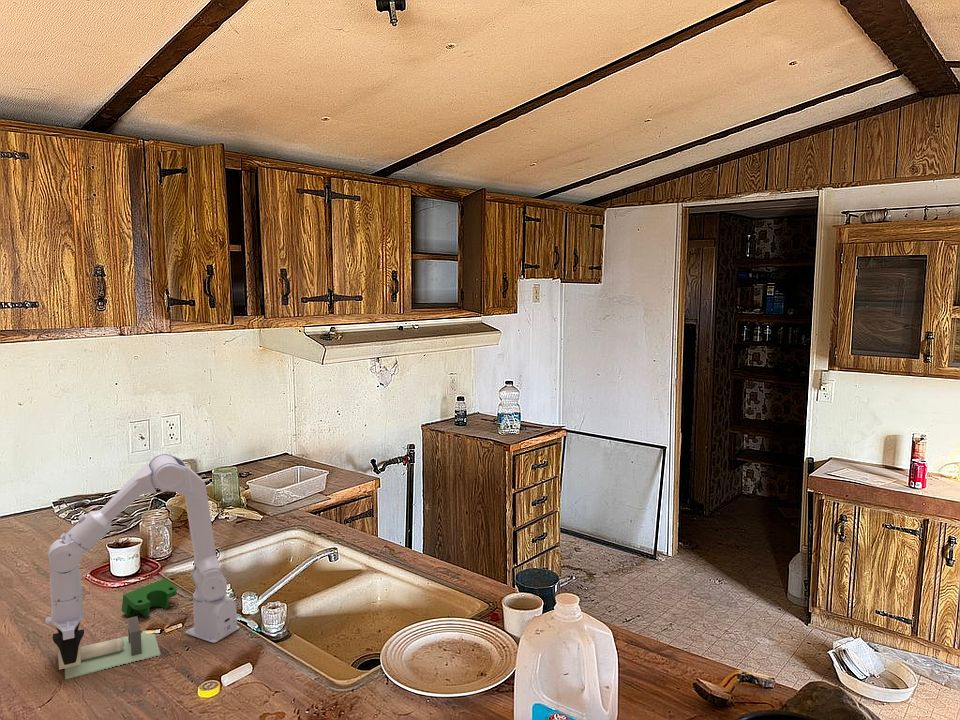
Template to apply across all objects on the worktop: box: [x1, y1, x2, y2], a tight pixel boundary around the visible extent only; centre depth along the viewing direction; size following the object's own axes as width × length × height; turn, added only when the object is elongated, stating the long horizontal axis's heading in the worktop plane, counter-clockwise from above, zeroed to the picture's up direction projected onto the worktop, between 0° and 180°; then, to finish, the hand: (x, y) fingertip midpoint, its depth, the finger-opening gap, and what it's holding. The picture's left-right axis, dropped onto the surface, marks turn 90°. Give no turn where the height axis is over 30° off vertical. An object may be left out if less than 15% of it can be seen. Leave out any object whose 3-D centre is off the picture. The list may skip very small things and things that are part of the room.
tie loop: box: [127, 615, 142, 656], centre depth 153 cm, size 2×7×5 cm, turn 32°
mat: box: [64, 631, 162, 680], centre depth 151 cm, size 18×12×1 cm, turn 122°
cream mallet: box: [57, 638, 124, 670], centre depth 149 cm, size 12×4×5 cm, turn 122°
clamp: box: [121, 577, 178, 618], centre depth 171 cm, size 12×6×9 cm, turn 142°
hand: (69, 655), depth 146 cm, fingers open, 6 cm apart
